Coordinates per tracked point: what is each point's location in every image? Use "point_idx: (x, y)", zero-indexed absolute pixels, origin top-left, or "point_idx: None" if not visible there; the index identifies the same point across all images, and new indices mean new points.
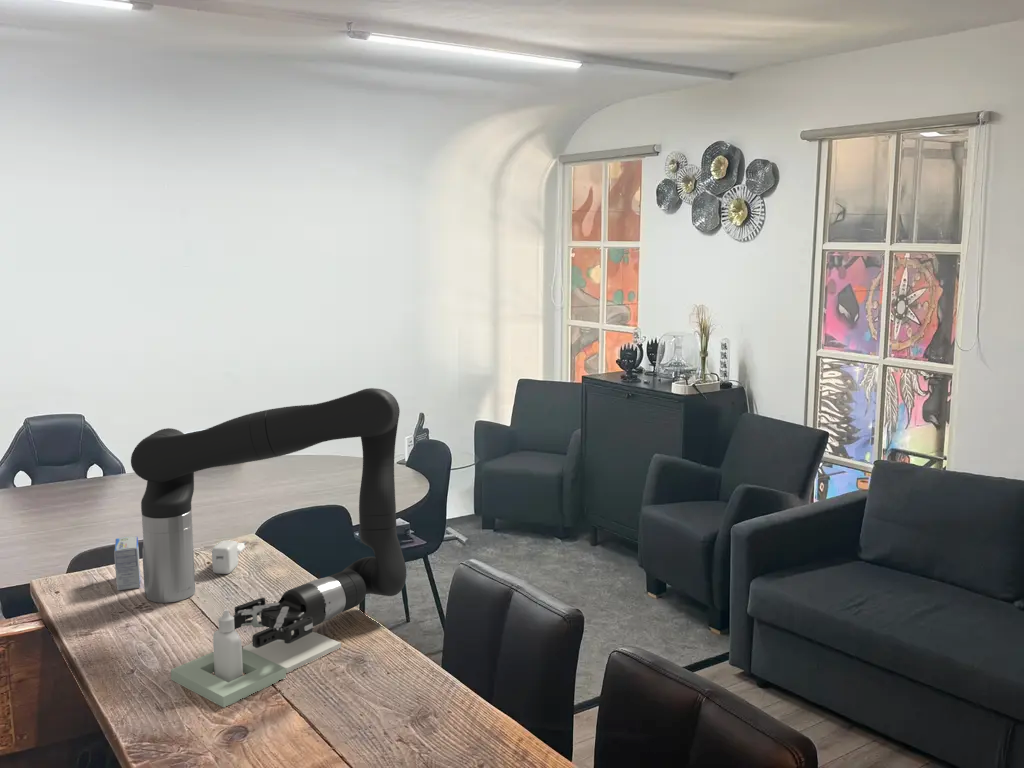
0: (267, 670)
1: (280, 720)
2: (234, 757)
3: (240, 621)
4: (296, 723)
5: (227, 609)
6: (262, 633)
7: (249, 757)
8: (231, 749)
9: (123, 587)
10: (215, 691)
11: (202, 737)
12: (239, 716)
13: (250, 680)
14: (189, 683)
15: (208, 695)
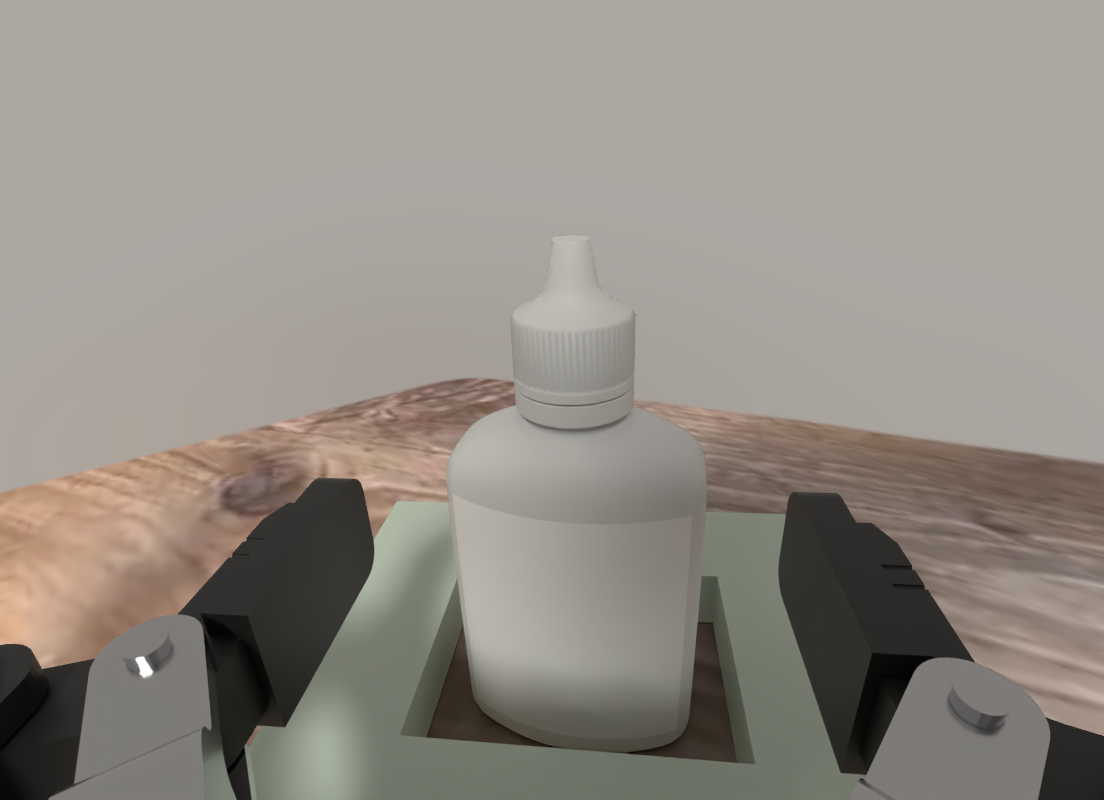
0: (311, 761)
1: (105, 587)
2: (216, 442)
3: (849, 710)
4: (15, 603)
5: (569, 241)
6: (283, 517)
7: (168, 454)
8: (241, 452)
9: None
10: None
11: (362, 447)
12: None
13: (358, 624)
14: None
15: None
